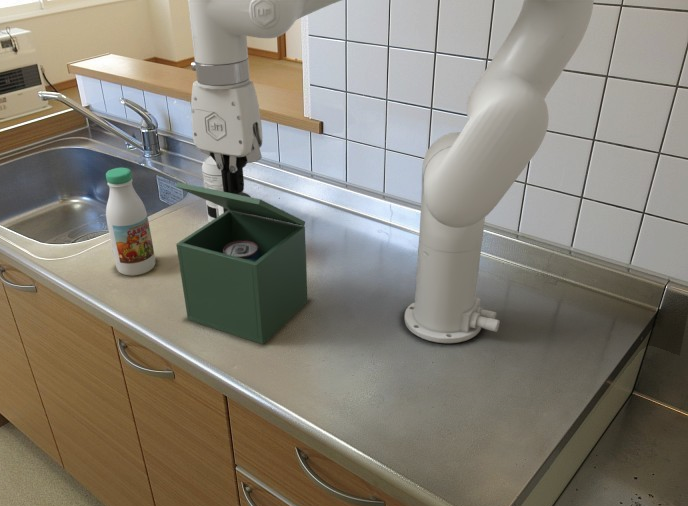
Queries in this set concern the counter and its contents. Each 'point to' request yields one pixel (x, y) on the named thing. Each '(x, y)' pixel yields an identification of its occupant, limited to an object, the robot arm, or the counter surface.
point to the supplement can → (212, 184)
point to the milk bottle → (128, 225)
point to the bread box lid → (241, 203)
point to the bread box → (244, 275)
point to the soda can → (243, 250)
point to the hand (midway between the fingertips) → (234, 192)
